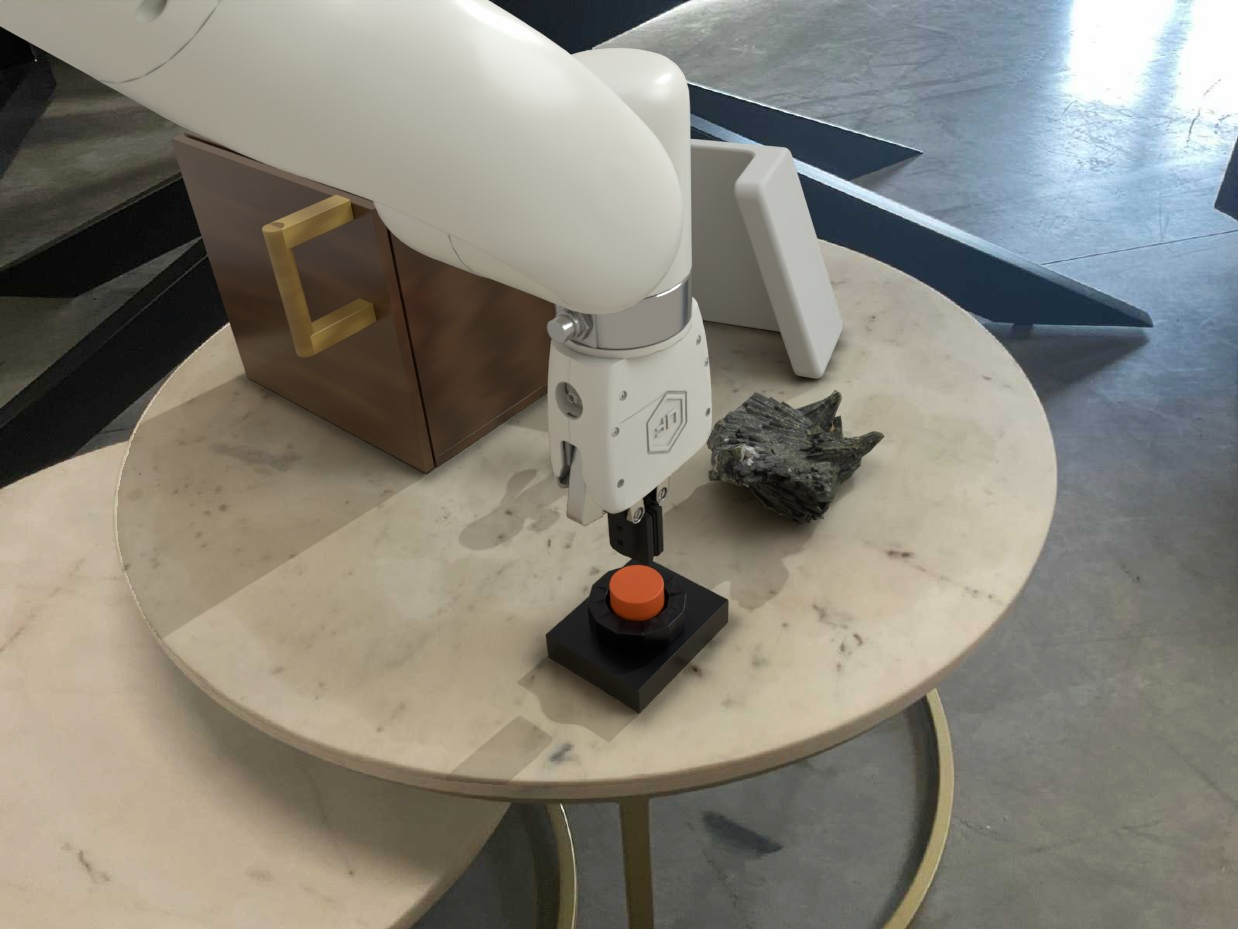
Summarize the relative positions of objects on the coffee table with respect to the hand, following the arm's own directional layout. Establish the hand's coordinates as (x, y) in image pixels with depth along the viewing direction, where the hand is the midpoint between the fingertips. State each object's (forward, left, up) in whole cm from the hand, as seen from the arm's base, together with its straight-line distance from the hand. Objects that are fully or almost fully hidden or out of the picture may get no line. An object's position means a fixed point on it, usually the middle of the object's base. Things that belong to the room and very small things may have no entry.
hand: (636, 550), depth 66 cm
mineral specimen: (+20, 0, -8) cm, 21 cm away
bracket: (+33, +26, -8) cm, 43 cm away
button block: (0, 0, -8) cm, 8 cm away
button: (0, 0, -5) cm, 5 cm away
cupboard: (+14, +39, -8) cm, 42 cm away
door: (+1, +39, -8) cm, 40 cm away
